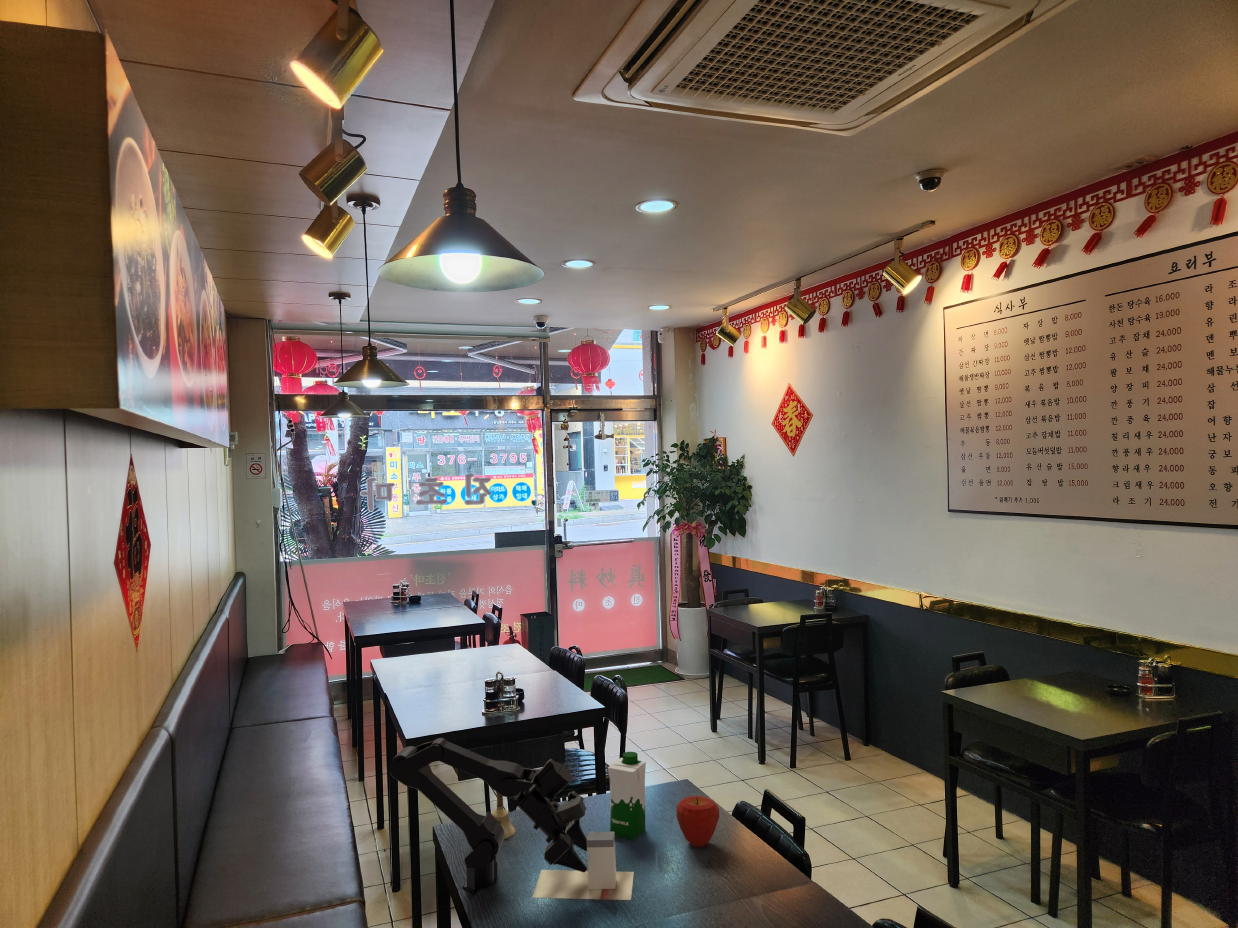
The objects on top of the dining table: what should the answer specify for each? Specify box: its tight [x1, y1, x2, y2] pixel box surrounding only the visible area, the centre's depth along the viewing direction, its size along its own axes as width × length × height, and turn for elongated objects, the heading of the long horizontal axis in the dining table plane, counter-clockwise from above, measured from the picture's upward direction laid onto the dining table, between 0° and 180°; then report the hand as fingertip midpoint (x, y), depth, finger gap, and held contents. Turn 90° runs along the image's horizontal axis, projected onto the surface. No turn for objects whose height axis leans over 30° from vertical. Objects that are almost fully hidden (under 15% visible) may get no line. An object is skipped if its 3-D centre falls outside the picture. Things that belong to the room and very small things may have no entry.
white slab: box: [586, 831, 617, 889], centre depth 177 cm, size 6×4×11 cm
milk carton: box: [607, 751, 647, 842], centre depth 205 cm, size 9×9×20 cm
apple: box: [676, 795, 720, 848], centre depth 198 cm, size 11×11×12 cm
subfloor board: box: [532, 869, 635, 901], centre depth 177 cm, size 22×12×1 cm, turn 86°
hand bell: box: [491, 791, 516, 840], centre depth 206 cm, size 8×8×16 cm
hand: (588, 860), depth 177 cm, fingers open, 9 cm apart
